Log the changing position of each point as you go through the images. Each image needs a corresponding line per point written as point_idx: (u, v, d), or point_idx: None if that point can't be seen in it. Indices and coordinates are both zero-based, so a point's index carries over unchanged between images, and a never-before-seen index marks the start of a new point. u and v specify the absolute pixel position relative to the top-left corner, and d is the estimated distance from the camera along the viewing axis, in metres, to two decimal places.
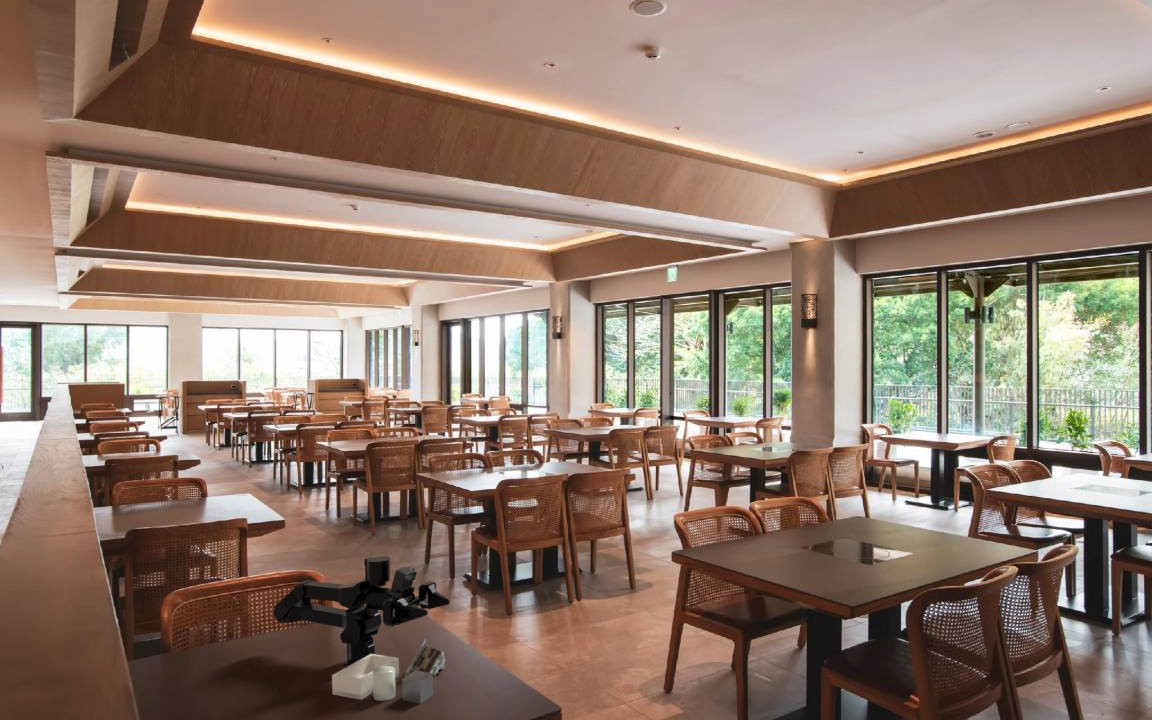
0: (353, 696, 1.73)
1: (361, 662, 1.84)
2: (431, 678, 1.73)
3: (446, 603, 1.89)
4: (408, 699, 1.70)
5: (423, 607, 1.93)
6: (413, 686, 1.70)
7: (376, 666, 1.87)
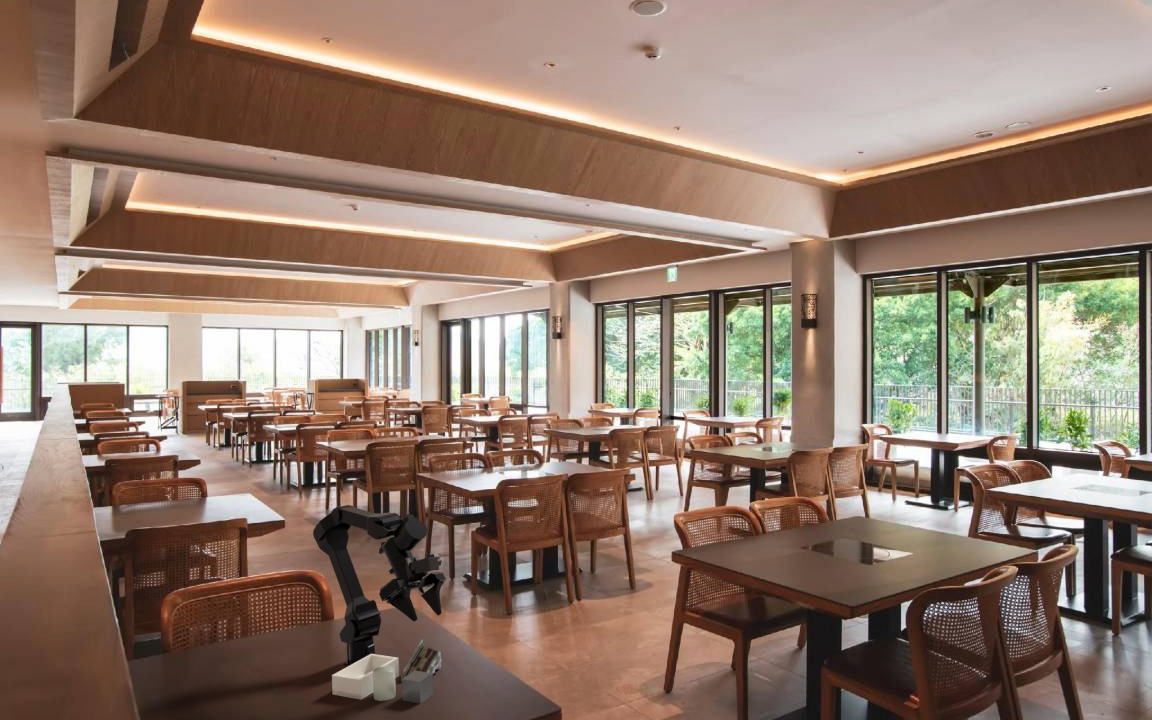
0: (353, 696, 1.73)
1: (361, 662, 1.84)
2: (431, 678, 1.73)
3: (436, 613, 1.82)
4: (408, 699, 1.70)
5: (419, 588, 1.86)
6: (413, 686, 1.70)
7: (376, 666, 1.87)
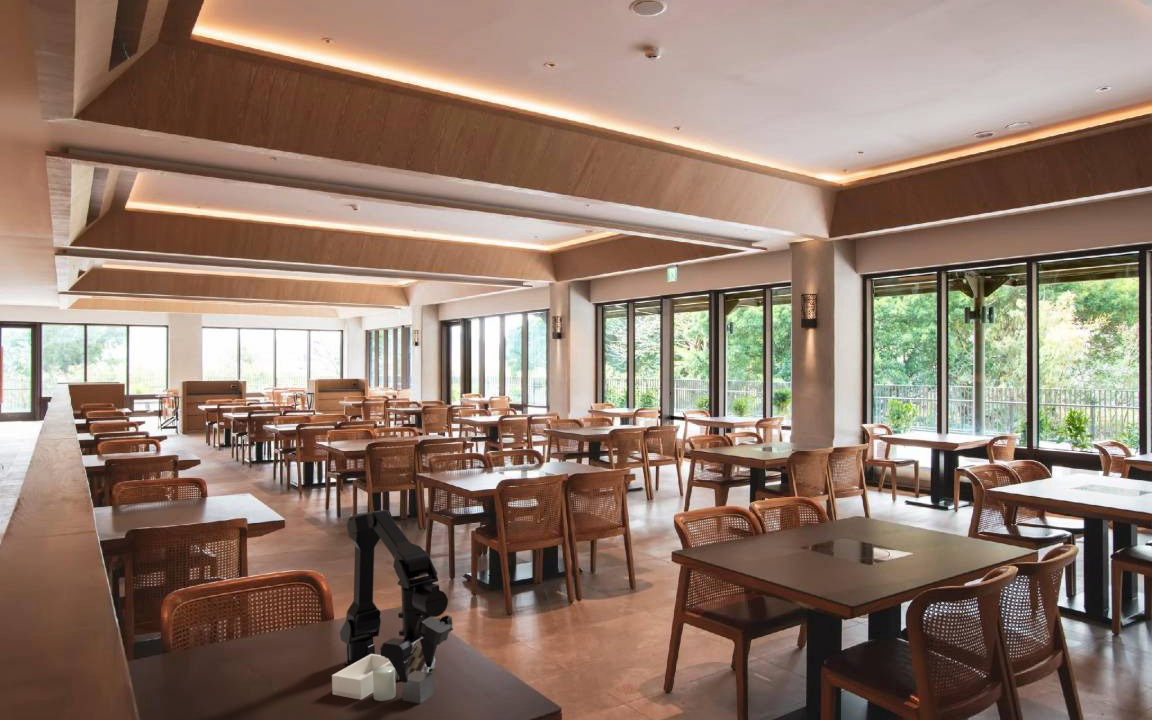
0: (353, 696, 1.73)
1: (361, 662, 1.84)
2: (431, 678, 1.73)
3: (426, 664, 1.76)
4: (408, 699, 1.70)
5: None
6: (413, 686, 1.70)
7: (376, 666, 1.87)
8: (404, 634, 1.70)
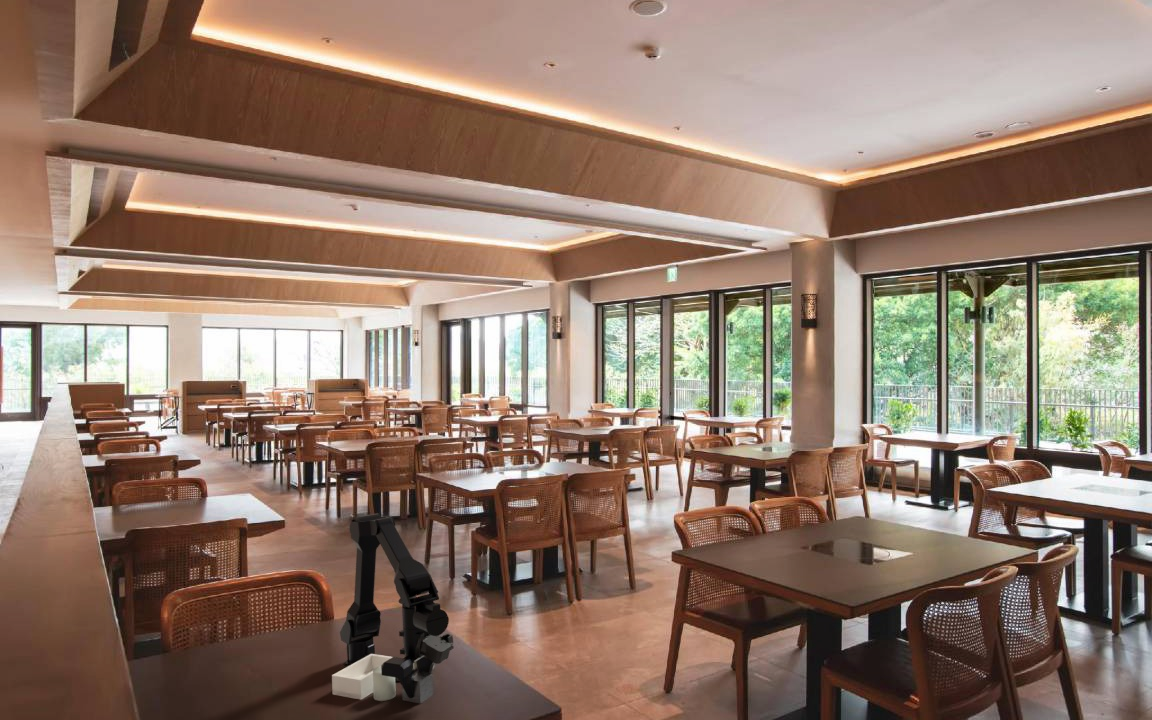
0: (353, 696, 1.73)
1: (361, 662, 1.84)
2: (431, 677, 1.73)
3: None
4: (408, 699, 1.70)
5: None
6: None
7: (376, 666, 1.87)
8: (405, 653, 1.70)
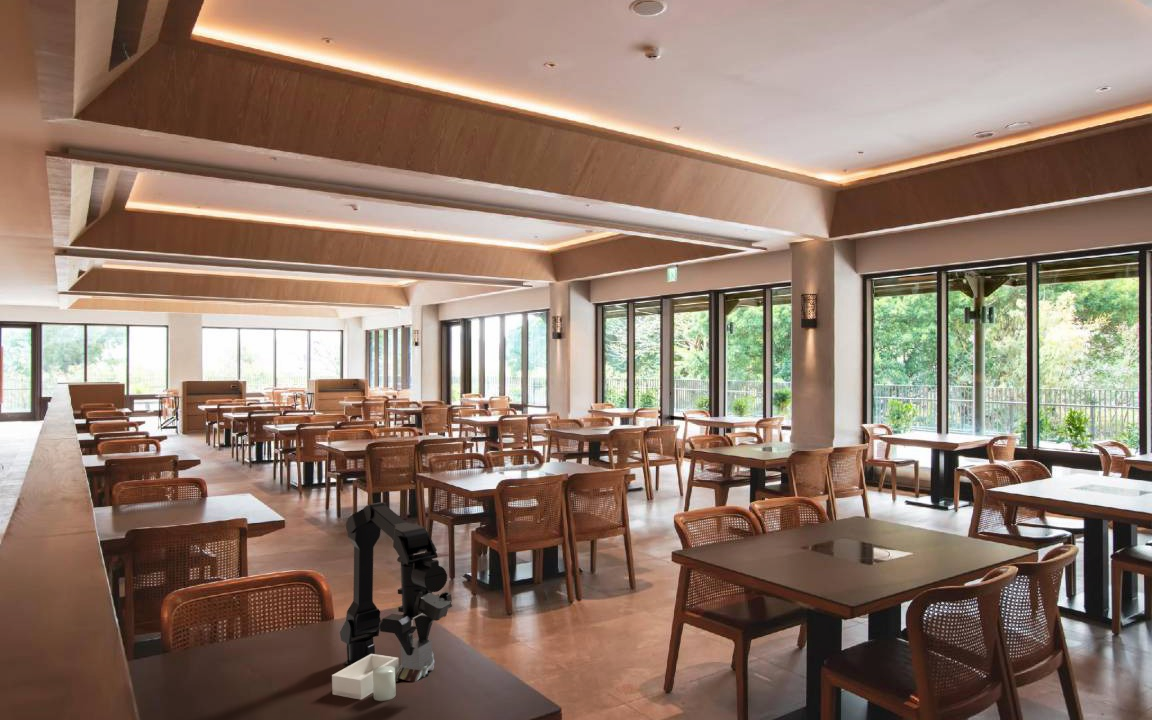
0: (353, 696, 1.73)
1: (361, 662, 1.84)
2: (430, 645, 1.73)
3: None
4: (407, 665, 1.70)
5: None
6: (412, 652, 1.70)
7: (376, 666, 1.87)
8: (403, 610, 1.70)
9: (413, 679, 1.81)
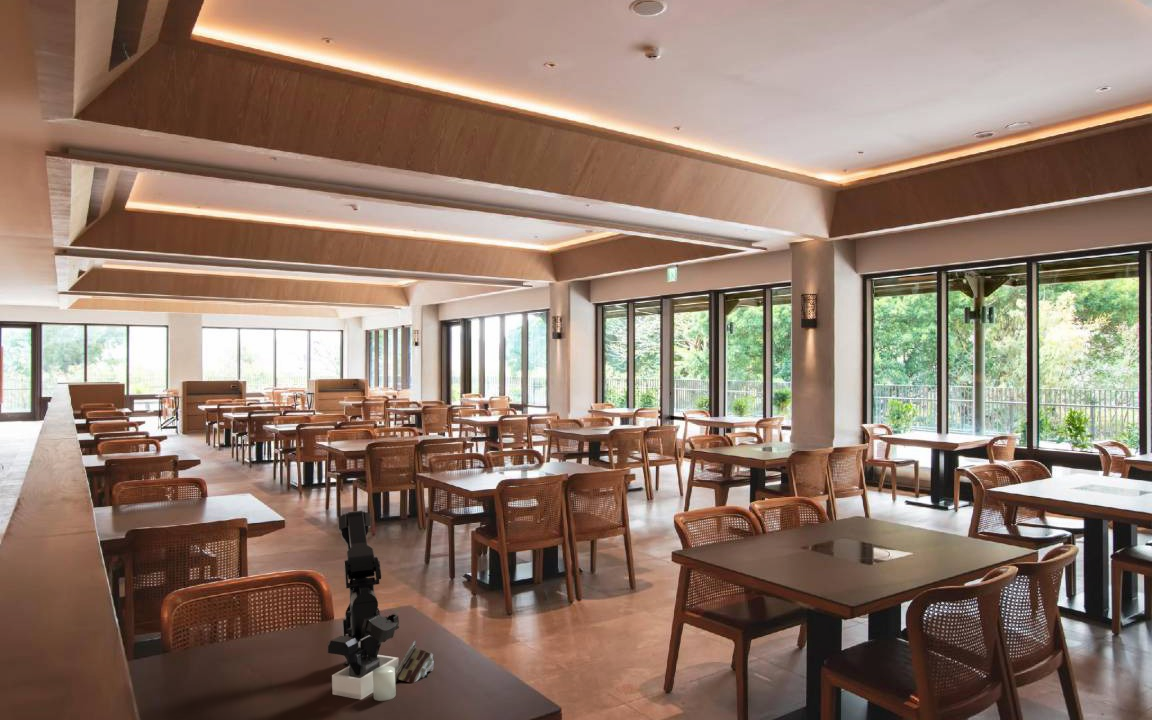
0: (353, 696, 1.73)
1: None
2: (378, 662, 1.81)
3: None
4: None
5: None
6: None
7: None
8: (352, 632, 1.78)
9: (412, 680, 1.81)
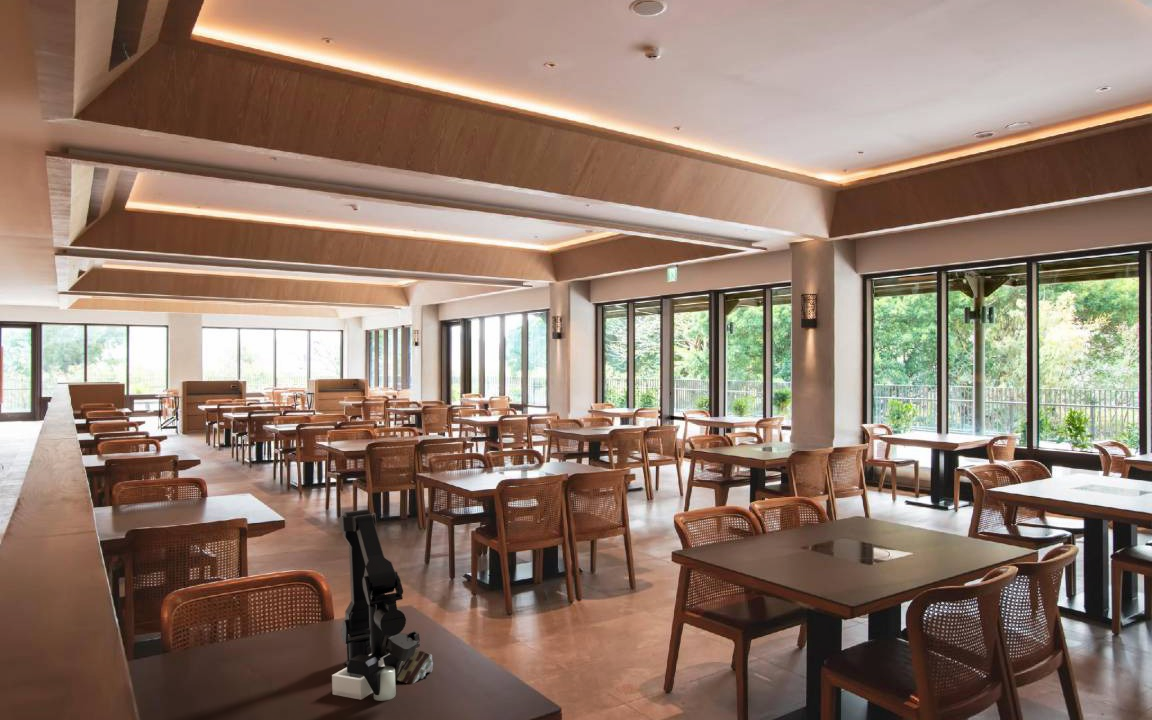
0: (353, 696, 1.73)
1: None
2: None
3: None
4: None
5: None
6: None
7: None
8: (371, 650, 1.72)
9: (411, 681, 1.80)
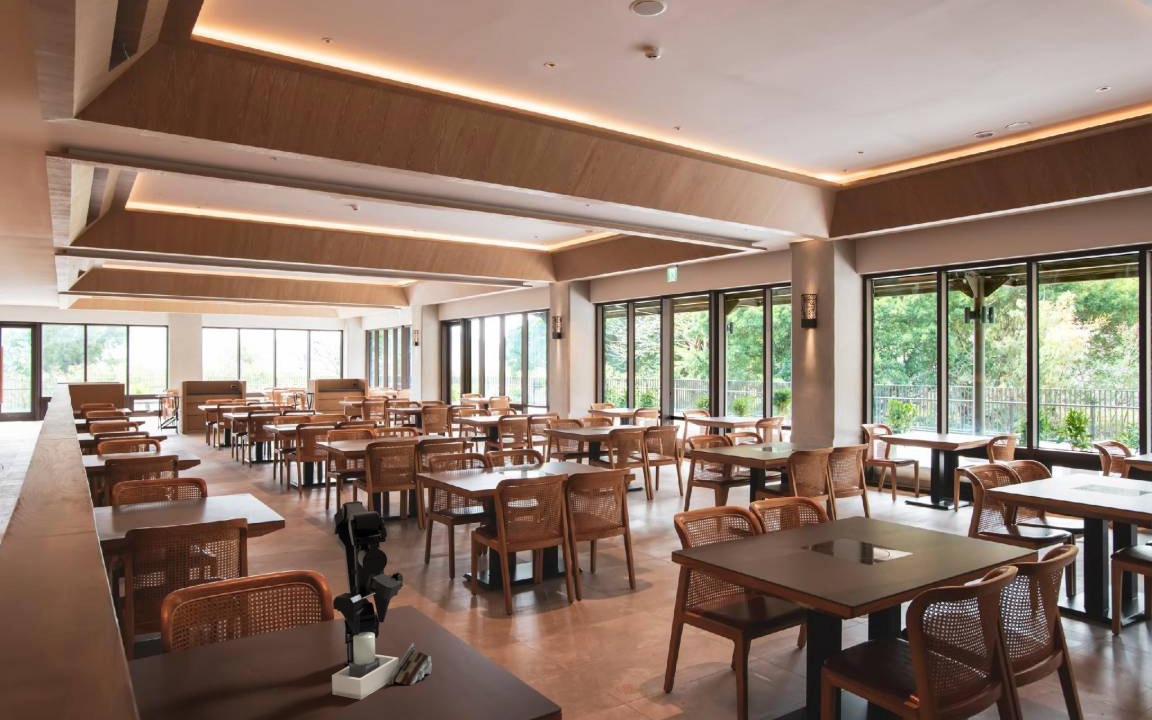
0: (353, 696, 1.73)
1: None
2: (378, 662, 1.81)
3: (379, 619, 1.86)
4: None
5: None
6: (359, 670, 1.77)
7: None
8: (357, 590, 1.80)
9: (409, 682, 1.79)
